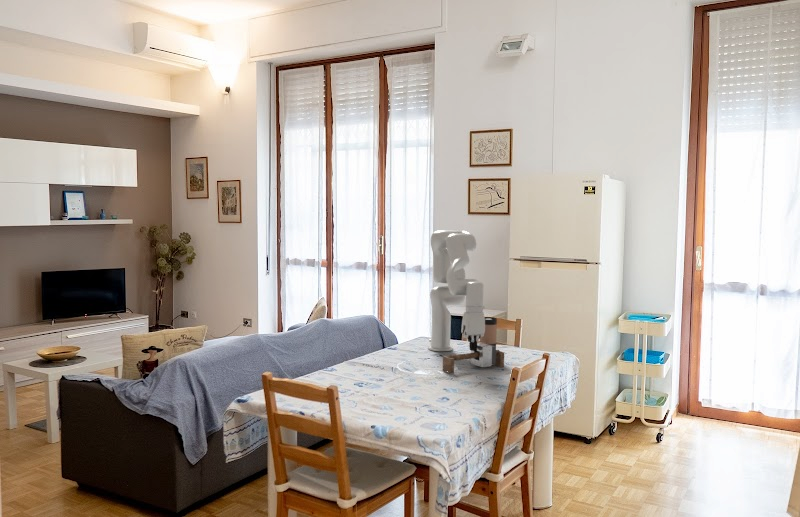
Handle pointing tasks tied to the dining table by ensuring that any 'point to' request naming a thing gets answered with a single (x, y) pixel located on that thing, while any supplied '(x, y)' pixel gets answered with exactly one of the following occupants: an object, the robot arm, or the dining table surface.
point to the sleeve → (483, 355)
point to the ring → (493, 353)
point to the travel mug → (490, 331)
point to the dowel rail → (449, 360)
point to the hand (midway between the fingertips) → (473, 350)
